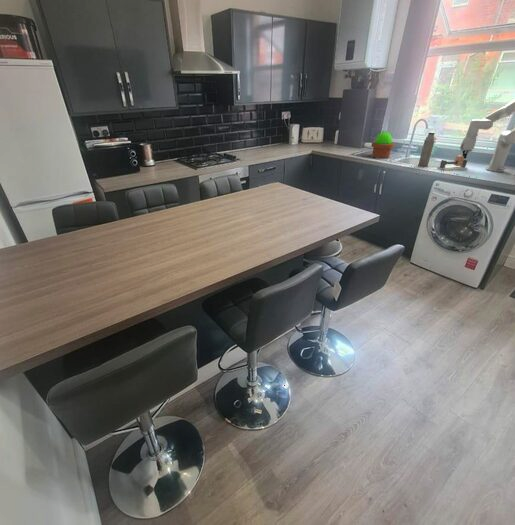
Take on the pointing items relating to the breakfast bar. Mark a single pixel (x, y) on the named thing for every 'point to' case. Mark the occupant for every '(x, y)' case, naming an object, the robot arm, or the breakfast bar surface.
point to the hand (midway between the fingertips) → (463, 158)
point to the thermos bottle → (427, 150)
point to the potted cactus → (382, 145)
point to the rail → (444, 167)
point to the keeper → (459, 160)
